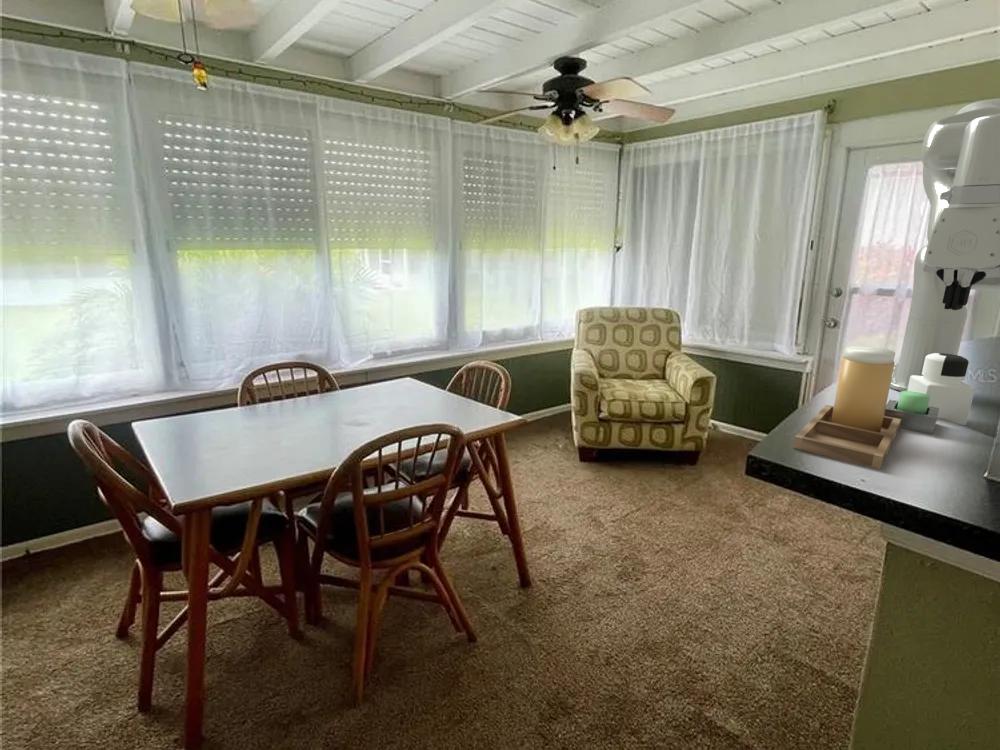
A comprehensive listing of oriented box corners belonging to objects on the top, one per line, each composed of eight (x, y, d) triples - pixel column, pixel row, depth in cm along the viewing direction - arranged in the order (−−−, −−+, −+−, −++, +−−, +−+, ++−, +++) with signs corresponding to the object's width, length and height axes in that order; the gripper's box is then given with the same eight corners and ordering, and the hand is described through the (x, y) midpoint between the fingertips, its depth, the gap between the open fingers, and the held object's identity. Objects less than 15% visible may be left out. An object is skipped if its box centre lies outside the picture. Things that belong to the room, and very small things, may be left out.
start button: (897, 411, 93) (901, 389, 92) (925, 416, 90) (930, 394, 89) (894, 416, 90) (899, 394, 89) (923, 422, 87) (928, 399, 86)
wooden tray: (823, 420, 95) (826, 404, 95) (897, 435, 88) (901, 419, 87) (792, 454, 80) (794, 436, 80) (878, 476, 73) (882, 456, 72)
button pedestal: (885, 420, 96) (889, 399, 94) (934, 429, 91) (939, 408, 90) (879, 430, 90) (884, 408, 89) (930, 441, 86) (936, 418, 85)
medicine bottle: (945, 413, 99) (960, 352, 96) (966, 426, 93) (983, 360, 90) (902, 410, 101) (915, 349, 98) (919, 422, 95) (934, 358, 91)
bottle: (821, 422, 91) (834, 345, 87) (860, 421, 91) (874, 345, 88) (848, 437, 84) (864, 355, 81) (890, 436, 84) (908, 354, 81)
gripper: (915, 199, 90) (894, 305, 95) (1034, 196, 78) (1001, 317, 83) (933, 199, 94) (912, 301, 99) (1049, 196, 81) (1017, 312, 87)
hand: (953, 308), depth 91 cm, fingers closed
